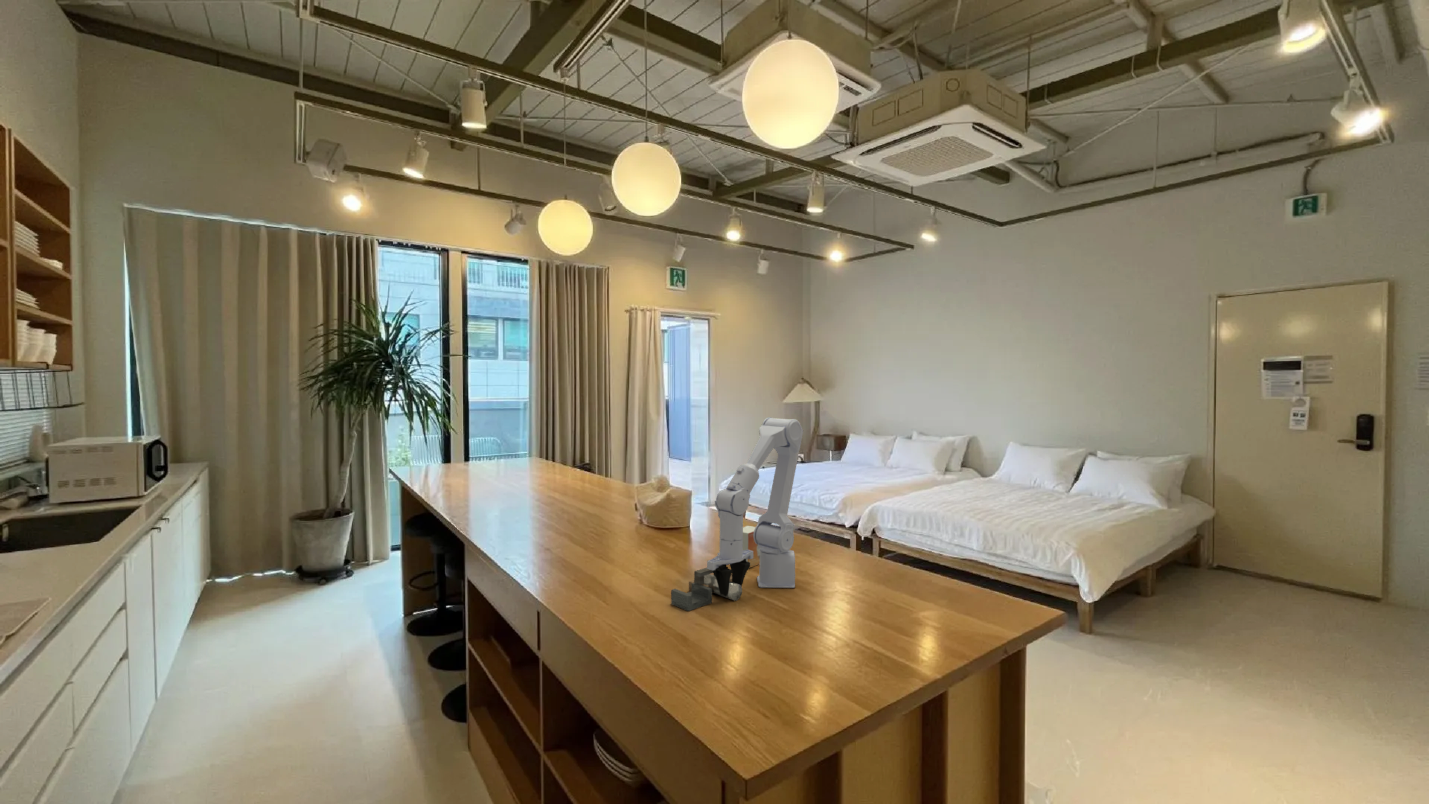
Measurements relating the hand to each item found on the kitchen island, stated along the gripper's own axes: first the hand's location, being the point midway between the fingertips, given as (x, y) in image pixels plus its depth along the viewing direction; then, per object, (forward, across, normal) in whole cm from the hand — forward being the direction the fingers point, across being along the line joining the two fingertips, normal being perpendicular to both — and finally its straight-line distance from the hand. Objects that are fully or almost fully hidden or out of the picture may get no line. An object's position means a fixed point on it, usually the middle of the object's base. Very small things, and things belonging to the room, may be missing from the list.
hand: (730, 592), depth 147 cm
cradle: (+1, +10, -4) cm, 10 cm away
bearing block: (+1, -2, -8) cm, 8 cm away
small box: (+2, -23, -16) cm, 28 cm away
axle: (+1, 0, -4) cm, 4 cm away
